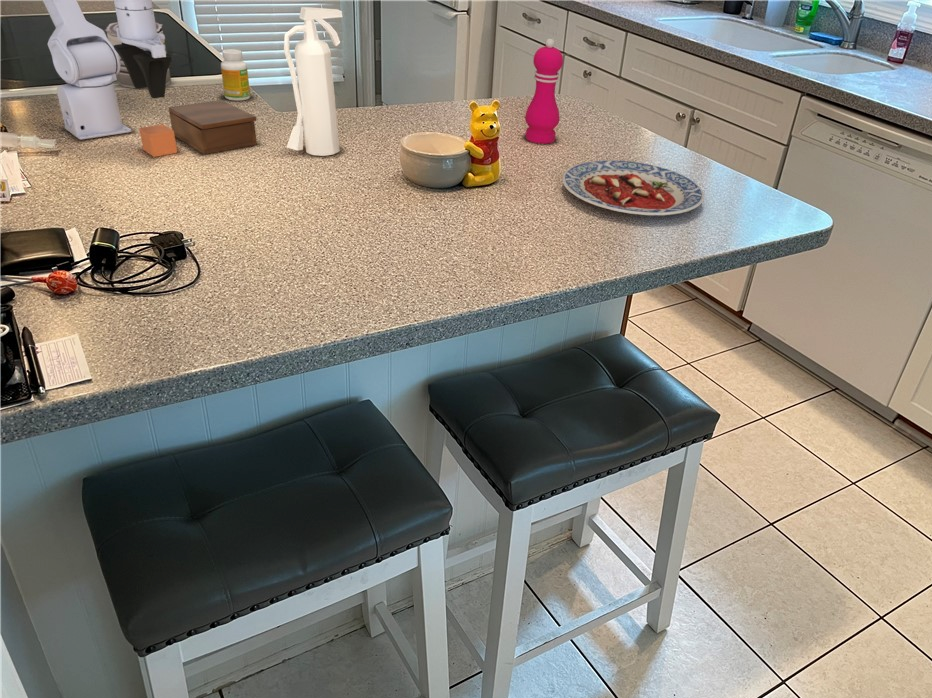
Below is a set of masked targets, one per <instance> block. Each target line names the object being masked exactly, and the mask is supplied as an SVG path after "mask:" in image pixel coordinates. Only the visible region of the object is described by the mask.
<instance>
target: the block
mask: <svg viewBox="0 0 932 698" xmlns="http://www.w3.org/2000/svg"><path fill="white" fill-rule="evenodd" d="M138 130H139V134H140V135H139V136H140V139H141V146H142V150H143V151H145V153H147V154H148V155H150V156H152V157H153V158H156V157H162V156H167V155H172V154H178V148H177V142H176V141H177V140H176V136H175V135H174V131H173V130H172V128H171V127H168V126H167V125H165V124H164V123H163V124H155V125H148V126H143V127H139V128H138Z"/></svg>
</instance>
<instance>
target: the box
mask: <svg viewBox="0 0 932 698" xmlns="http://www.w3.org/2000/svg"><path fill="white" fill-rule="evenodd" d="M168 112H169V111H168ZM169 118H170V125H171V130H173V131H174V135H175V138H177V139H178V140H181V141H183V142H184V143H185V144H186V145H188V146H189V147H192V148H193V149H195V150H197V151H198V152H200V153H201V154H203V155H208V154H214V153H218V152H223V151H224V152H225V151H230V150H235V149H241V148H246V147H253V146H257V145H258V143H257V142H258V141H257V134H256V126H255V125H256V124H255V121H252V122H245V123H239V124H233V125H227V126H221V127H215V128H208V129H201V128H199V127H197V126H195V125H193V124H192V123H190V122H188V121H186V120H184V119H182V118H180V117H179V116H177V115H175V114H173V113H171V112H169Z"/></svg>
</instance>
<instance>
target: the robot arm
mask: <svg viewBox="0 0 932 698" xmlns="http://www.w3.org/2000/svg"><path fill="white" fill-rule="evenodd" d="M42 2H43V5H44V6H45V9H46V11H47V13H48V14H49V17H50V19H51V21H52V23H53V25H54V27H55V29H54V30H53V32H52V34H51V35H50V36H49V38H48V42H47V47H48V49H49V52H50V55H51V59H52V64H53V67H54V69H55V71H56V73H57V75H58V76H59V78H61V79H62V80H63V81H64V82H65V83H66V84H61V85H58V86H57V88H56V94H57V100H58V104H59V107H60V112H61V115H62V119H63V123H64V130H66V131H68V133H70V134H71V135H73V136H74V137H75V138H77V139H78V140H88V139H94V138H101V137H107V136H114V135H121V134H128V133H131V132H132V129H131V128H130V127H128V126H127V125H125V124H124V123H123V121H122V116H121V111H120V107H119V101H118V97H117V92H116V87H115V83H114V82H117V78H116V75H117V74H118V73H119V71H120V66H121V63H120V57H121V59H122V61H123V62H124V64H125V66H126V68H127V71H128V73H129V75H130V78H131V80H132V83H133V85H134V87H135V88H136V90H140V89H139V88H148V89H147V91H148V93H149V96H150V97H151V99H161V98H165V95H166V87H167V86H166V75H167V71H168V67H169V68H170V64H171V62H172V60H173V59H172V55H170V54H169V53H167V51H166V52H165V47H166V46H165V47H164V45H163V44H162V43H161V41H160V40H164V41H165V40H166V35H165V34H164V33H163V34H161V33H157V29H156V23H155V22H156V17H155V11H154V5H153V0H113V5H114V9H115V14H116V19H117V22H118V25H119V27H118V28H116V32H117V37H118V40H120V41H121V42H122V44H118V45H114V46H113V45H112V44H111V43H110V41H109V40H108V36H107V34H106V32H105V30H103V29H102V28H100V27H99V26H97V25H95V24H94V23H91V22H89V21H87V19H86V18H85V16H84V13H83V11H82V9H81V7H80V4H79V2H78V0H42ZM166 53H167V54H166ZM118 54H119V55H118ZM119 56H120V57H119Z"/></svg>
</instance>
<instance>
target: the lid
mask: <svg viewBox="0 0 932 698" xmlns="http://www.w3.org/2000/svg"><path fill="white" fill-rule="evenodd" d="M168 112H171V113H173V114H175V115H177V116H179V117H180V118H182V119H184V120H186V121H188V122H190V123H192V124H193V125H195V126H197V127H199V128H201V129H208V128H215V127H221V126H227V125H233V124H239V123H245V122H252V121H254V122H256V121H257V116H256V115H254V114H252V113H249V112H248V111H246V110H243V109H241V108H239V107H237V106H235V105H233V104H230V103H228V102H227V101H224V100H222V99H217V100H210V101H204V102H196V103H189V104H180V105H175V106H168Z"/></svg>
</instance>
